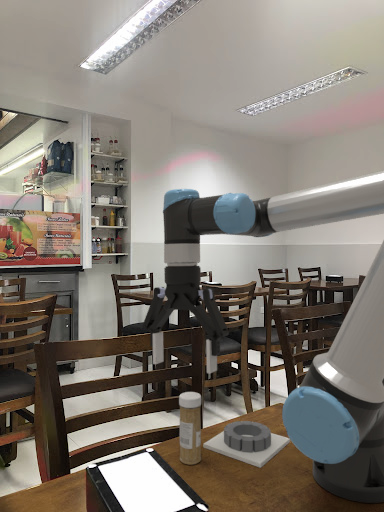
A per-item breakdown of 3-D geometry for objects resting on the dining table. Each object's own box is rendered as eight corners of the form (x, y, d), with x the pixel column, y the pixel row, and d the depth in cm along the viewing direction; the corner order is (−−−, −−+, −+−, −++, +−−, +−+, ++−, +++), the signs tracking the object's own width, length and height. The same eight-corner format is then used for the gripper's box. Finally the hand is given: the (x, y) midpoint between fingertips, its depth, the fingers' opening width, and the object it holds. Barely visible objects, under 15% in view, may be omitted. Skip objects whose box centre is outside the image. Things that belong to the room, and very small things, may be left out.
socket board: (290, 442, 92) (290, 427, 92) (260, 467, 81) (260, 451, 81) (236, 426, 101) (236, 413, 101) (203, 447, 90) (203, 432, 90)
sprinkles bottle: (205, 461, 84) (205, 395, 83) (186, 468, 81) (186, 400, 81) (193, 452, 87) (193, 389, 87) (174, 458, 85) (174, 393, 85)
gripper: (244, 264, 81) (246, 371, 81) (148, 264, 95) (149, 356, 95) (226, 265, 75) (227, 380, 75) (125, 265, 89) (127, 363, 89)
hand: (183, 367), depth 85 cm, fingers open, 13 cm apart
